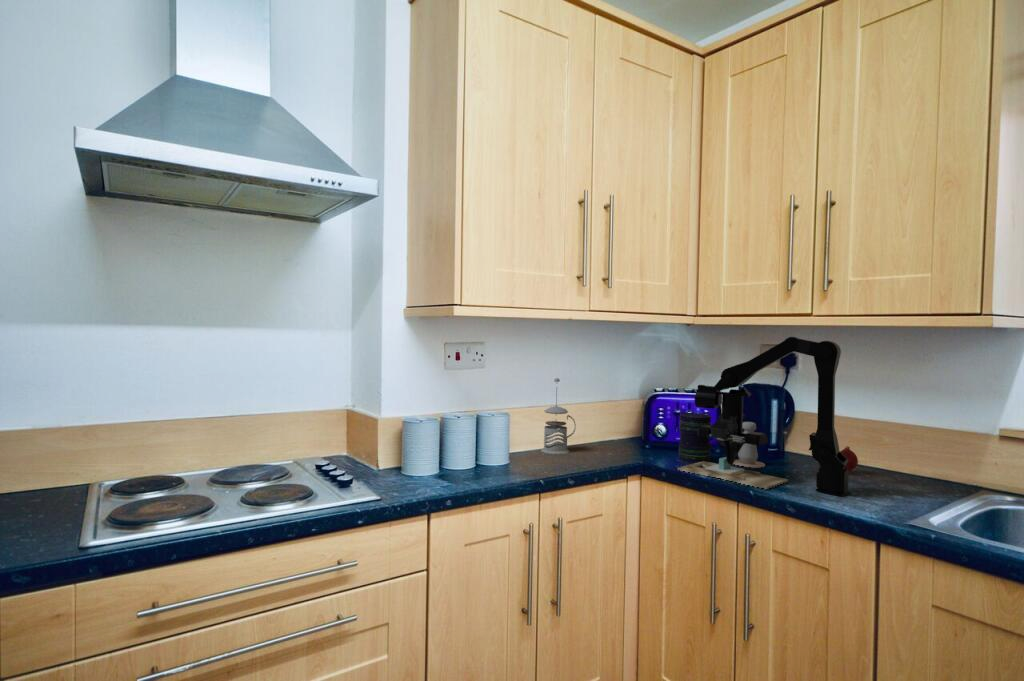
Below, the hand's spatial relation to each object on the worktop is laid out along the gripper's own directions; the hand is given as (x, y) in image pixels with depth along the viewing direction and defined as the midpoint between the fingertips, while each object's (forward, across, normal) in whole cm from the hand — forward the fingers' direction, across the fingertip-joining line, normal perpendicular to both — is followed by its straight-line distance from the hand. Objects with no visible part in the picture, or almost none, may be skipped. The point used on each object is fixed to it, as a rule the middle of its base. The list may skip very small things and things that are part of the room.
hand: (730, 464), depth 168 cm
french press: (+4, -54, -15) cm, 57 cm away
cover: (+3, -2, 0) cm, 3 cm away
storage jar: (+4, -17, +10) cm, 20 cm away
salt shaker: (+3, -4, +19) cm, 20 cm away
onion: (+4, +20, +34) cm, 39 cm away
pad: (+3, -4, +20) cm, 20 cm away
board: (+3, +1, 0) cm, 3 cm away
